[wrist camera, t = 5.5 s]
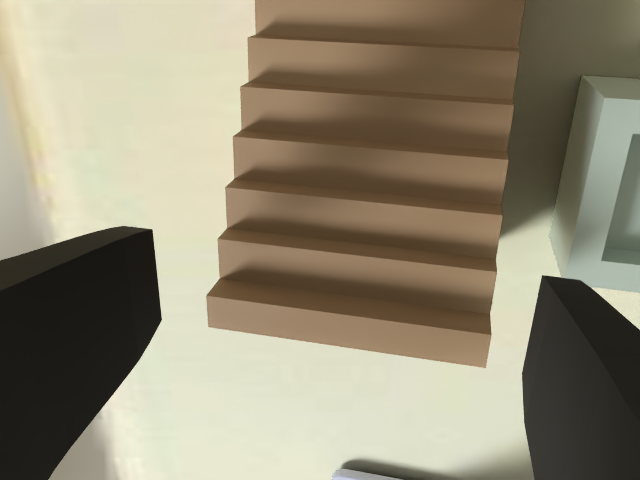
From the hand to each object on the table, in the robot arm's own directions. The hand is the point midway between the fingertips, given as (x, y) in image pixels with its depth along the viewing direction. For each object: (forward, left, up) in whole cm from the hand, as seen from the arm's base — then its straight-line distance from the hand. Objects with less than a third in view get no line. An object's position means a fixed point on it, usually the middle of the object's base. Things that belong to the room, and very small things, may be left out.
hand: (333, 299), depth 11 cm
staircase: (+2, 0, -7) cm, 7 cm away
